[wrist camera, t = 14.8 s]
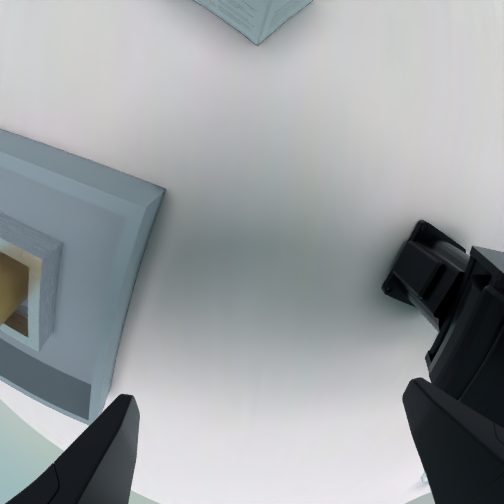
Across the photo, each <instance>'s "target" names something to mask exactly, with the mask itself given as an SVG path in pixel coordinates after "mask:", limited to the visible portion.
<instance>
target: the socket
mask: <svg viewBox="0 0 504 504" xmlns="http://www.w3.org/2000/svg"><path fill="white" fill-rule="evenodd" d="M62 248H63V242H62V241H60V240H57V239H55V238H53V237H51V236H49V235H47V234H44V233H42V232H40V231H38V230H36V229H34V228H32V227H30V226H27V225H25V224H23V223H21V222H19V221H17V220H15V219H13V218H11V217H9V216H7V215H5V214H3V213H1V212H0V252H2V253H4V254H6V255H8V256H10V257H11V258H13V259H15V260H17V261H19V262H21V263H23V264H25V265H27V266H28V267H29V283H28V308H27V307H25V306H23V305H22V304H21V305H20V306H19V307H18V308H17V309H16V310H15V311H14V312H13V313H12V314H11V315H10V316H9V318H8V319H7V320H6V321H5V322H4V323H3V324H2V325H1V326H0V330H1V331H3V332H4V333H6V334H8V335H9V336H11V337H13V338H14V339H16V340H18V341H20V342H21V343H23V344H25V345H27V346H28V347H30V348H32V349H34V350H36V351H38V352H40V350H41V349H42V347H43V346H44V344H45V343H46V341H47V340H48V338H49V337H50V336H51V334H52V333H53V331H54V322H55V307H56V295H57V285H58V276H59V268H60V261H61V254H62Z"/></svg>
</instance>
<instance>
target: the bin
mask: <svg viewBox="0 0 504 504" xmlns="http://www.w3.org/2000/svg"><path fill="white" fill-rule="evenodd" d="M165 190H166V189H164V188H162V187H159V186H157V185H154V184H151V183H149V182H146V181H144V180H141V179H138V178H136V177H133V176H130V175H128V174H125V173H123V172H120V171H117V170H115V169H112V168H109V167H106V166H104V165H101V164H98V163H96V162H93V161H90V160H87V159H85V158H82V157H79V156H76V155H74V154H71V153H68V152H65V151H62V150H60V149H57V148H54V147H51V146H48V145H46V144H43V143H40V142H37V141H34V140H31V139H28V138H25V137H22V136H19V135H17V134H14V133H11V132H8V131H5V130H2V129H0V212H1V213H3V214H5V215H7V216H9V217H11V218H13V219H15V220H17V221H19V222H21V223H23V224H25V225H27V226H30V227H32V228H34V229H36V230H38V231H40V232H42V233H44V234H47V235H49V236H51V237H53V238H55V239H57V240H60V241H62V242H63V248H62V254H61V261H60V268H59V276H58V285H57V295H56V307H55V322H54V331H53V333H52V334H51V336H50V337H49V338H48V340H47V341H46V343H45V344H44V346H43V347H42V349H41V350H40V352H38V351H36V350H34V349H32V348H30V347H28V346H27V345H25V344H23V343H21V342H20V341H18V340H16V339H14V338H13V337H11V336H9V335H8V334H6V333H4V332H3V331H1V330H0V380H1V381H3V382H5V383H6V384H8V385H10V386H11V387H13V388H15V389H16V390H18V391H20V392H22V393H23V394H25V395H27V396H29V397H31V398H32V399H34V400H36V401H38V402H40V403H42V404H44V405H46V406H48V407H50V408H52V409H54V410H56V411H58V412H60V413H62V414H64V415H67V416H69V417H71V418H73V419H76V420H78V421H80V422H83V423H85V424H87V425H91V424H92V423H93V422H94V421H95V420H96V419H97V418H98V416H99V415H100V414H101V413H102V411H103V408H104V405H105V402H106V399H107V396H108V393H109V390H110V386H111V381H112V376H113V371H114V366H115V361H116V356H117V352H118V347H119V343H120V339H121V334H122V330H123V326H124V322H125V318H126V314H127V310H128V306H129V302H130V299H131V295H132V291H133V288H134V284H135V281H136V277H137V274H138V271H139V267H140V264H141V261H142V257H143V254H144V251H145V248H146V245H147V241H148V238H149V235H150V232H151V229H152V226H153V223H154V220H155V218H156V215H157V212H158V209H159V206H160V203H161V201H162V198H163V195H164V192H165ZM21 304H22V305H23V306H25V307H27V308H28V297H27V298H26V299H25V300H24V301H23V302H22V303H21Z"/></svg>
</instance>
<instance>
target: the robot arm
mask: <svg viewBox="0 0 504 504" xmlns="http://www.w3.org/2000/svg"><path fill="white" fill-rule="evenodd" d="M423 226H424V229H422V227H423ZM388 287H390V288H389V289H388ZM387 289H388V290H387ZM382 290H383V292H384V293H385V294H386V295H388V296H390V297H393V298H395V299H397V300H400V301H402V302H405V303H407V304H409V305H412V306H414V307H416V308H417V309H418V310H419V311H420V312H421V313H422V314H423V315H424V316H425V317H426V319H427V320H428V321H429V322H430V323H431V324H432V325H433V326H434V327H435V329H436V330H437V331H438V332H439V333H438V335H437V337H436V339H435V341H434V343H433V345H432V347H431V349H430V351H428V352H427V354H426V356H425V360H426V363H427V367H428V370H429V377H430V380H431V383H432V384H431V383H430V382H428V381H426V380H425V379H423V378H415V379H412V380H411V381H410V382H409V384H408V386H407V388H406V390H405V392H404V394H403V398H402V399H403V404H404V408H405V411H406V415H407V419H408V423H409V427H410V430H411V434H412V437H413V440H414V443H415V445H416V448H417V451H418V454H419V456H420V459H421V462H422V465H423V468H424V470H425V473H426V476H427V479H428V482H429V485H430V488H431V491H432V494H433V498H434V501H435V504H504V252H499V251H495V250H490V249H486V248H481V247H477V246H472V248H471V251H470V256H469V255H467V254H466V250H465V249H464V248H463V247H462V246H460V245H459V244H457V243H456V242H455V241H453V240H452V239H451V238H449V237H448V236H446V235H445V234H444V233H442V232H441V231H439V230H438V229H437V228H435V227H434V226H432V225H431V224H429V223H428V222H426V221H424V220H422V221H420V222H419V223H418V225H417V226H416V228H415V230H414V232H413V234H412V236H411V238H410V240H409V241H408V243H407V245H406V247H405V249H404V251H403V252H402V254H401V256H400V258H399V259H398V261H397V263H396V265H395V266H394V268H393V270H392V271H391V273H390V275H389V276H388V278H387V280H386V281H385V283H384V285H383V287H382ZM139 420H140V413H139V409H138V406H137V403H136V401H135V398H134V396H133V395H128V394H120V395H119V396H118V397H117V398H116V399H115V400H114V401H113V402H112V403H111V404H110V405H109V406H108V407H107V408H106V409H105V410H104V411H103V412H102V413H101V414H100V415H99V416H98V418H97V419H96V420H95V421H94V422H93V423H92V424H91V425H90V426H89V427H88V428H87V429H86V430H85V431H84V432H83V433H82V434H81V435H80V436H79V437H78V438H77V439H76V440H75V441H74V442H73V443H72V444H71V445H70V446H69V447H68V448H67V449H66V450H65V451H64V452H63V453H62V454H61V456H59V457H58V458H57V460H56V461H55V462H54V463H53V464H51V466H50V467H49V468H48V469H47V470H46V471H45V472H43V474H41V475H40V476H39V477H38V478H37V479H36V480H35V481H34V482H32V483H31V484H30V485H29V486H28V487H26V488H25V489H24V490H23V491H21V492H20V493H19V494H17V495H16V496H15V497H13V498H12V499H11V500H10V501H8V502H7V503H5V504H128V502H129V496H130V490H131V484H132V479H133V474H134V468H135V463H136V456H137V443H138V431H139Z"/></svg>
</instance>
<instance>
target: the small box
mask: <svg viewBox="0 0 504 504" xmlns="http://www.w3.org/2000/svg"><path fill="white" fill-rule="evenodd" d="M195 1H196V2H198V3H199V4H201V5H202V6H204V7H205V8H207V9H208V10H210V11H211V12H213V13H214V14H216V15H217V16H219V17H220V18H221V19H223V20H224V21H226V22H227V23H228V24H230V25H231V26H233V27H234V28H235V29H237V30H238V31H239V32H241V33H242V34H243V35H245V36H246V37H247V38H248V39H250V40H251V41H252V42H253V43H254V44H256V45H259V44H260V43H261V42H262V41H263V40H264V39H265V38H267V37H268V36H269V35H270V34H271V33H272V32H274V31H275V30H276V29H277V28H278V27H280V26H281V25H282V24H283V23H284V22H286V21H287V20H288V19H289V18H291V17H292V16H293V15H295V14H296V13H297V12H298V11H300V10H301V9H302V8H304V7H305V6H306V5H307V4H309V3H310V2H311V1H313V0H195Z"/></svg>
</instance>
